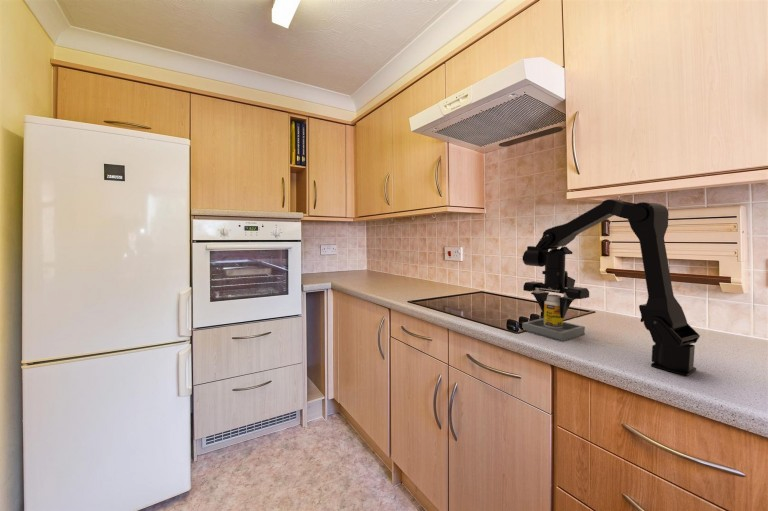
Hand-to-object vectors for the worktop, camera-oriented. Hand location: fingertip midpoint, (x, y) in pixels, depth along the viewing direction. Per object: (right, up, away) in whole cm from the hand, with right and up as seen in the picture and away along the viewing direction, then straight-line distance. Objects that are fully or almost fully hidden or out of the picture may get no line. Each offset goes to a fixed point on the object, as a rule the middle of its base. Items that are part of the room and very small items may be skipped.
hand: (553, 316), depth 102 cm
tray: (0, -5, 0) cm, 5 cm away
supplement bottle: (0, -4, 0) cm, 4 cm away
